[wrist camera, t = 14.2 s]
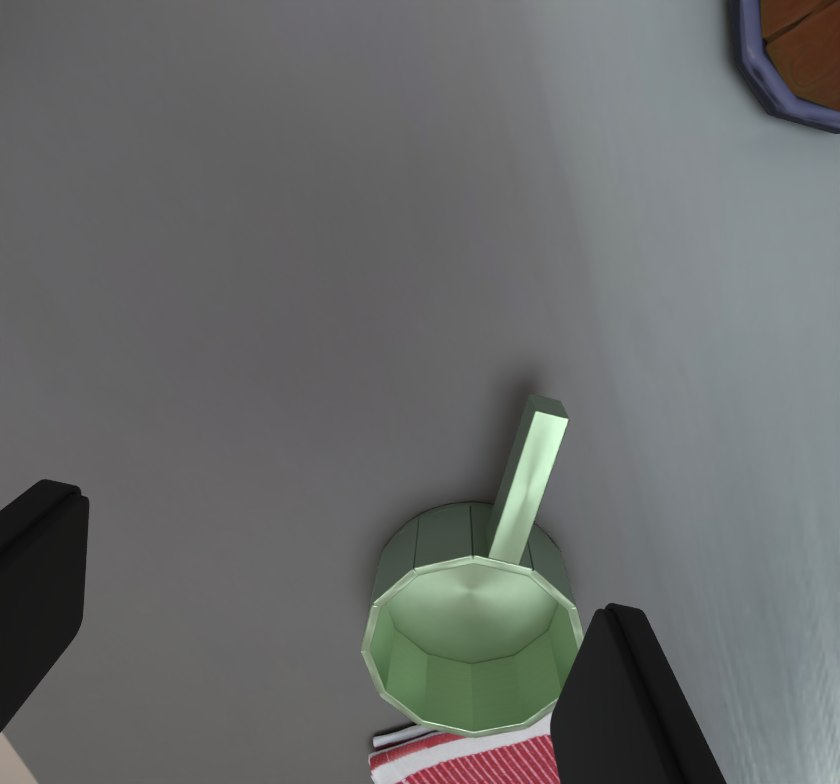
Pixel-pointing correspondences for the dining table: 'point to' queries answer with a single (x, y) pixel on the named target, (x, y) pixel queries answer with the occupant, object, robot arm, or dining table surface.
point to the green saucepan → (478, 602)
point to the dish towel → (465, 757)
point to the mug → (791, 57)
